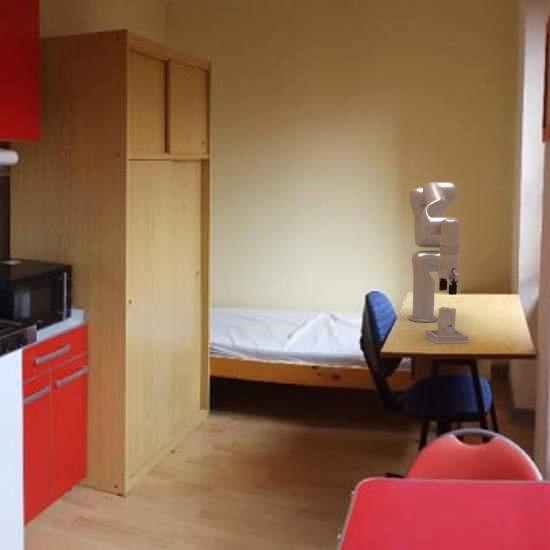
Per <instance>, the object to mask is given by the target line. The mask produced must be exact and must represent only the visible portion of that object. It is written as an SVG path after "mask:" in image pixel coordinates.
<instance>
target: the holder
mask: <svg viewBox="0 0 550 550" xmlns="http://www.w3.org/2000/svg"><path fill="white" fill-rule="evenodd" d="M424 332H425V333H424V337H425V336H426V337H425V338H427V339H429V340H430V341H432V342H434V343H435V344H457V343H459V344H461V343H463V344H464V343H469V335H467V334H465V333H463V331H462V332H461V331H460V330H457V329H455V331H454V336H437V334H438V329H429V330H428V329H426V330H425V331H424Z"/></svg>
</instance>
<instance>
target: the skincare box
mask: <svg viewBox="0 0 550 550" xmlns="http://www.w3.org/2000/svg"><path fill="white" fill-rule="evenodd" d="M456 310H457V308H454V307H448V306H447V307H445V306H441V307H439V308H438V317H437V330H438V334H437V336H454V331H455V328H456V327H455V326H456V313H457V311H456Z"/></svg>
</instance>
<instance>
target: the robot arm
mask: <svg viewBox="0 0 550 550" xmlns="http://www.w3.org/2000/svg"><path fill="white" fill-rule="evenodd" d="M457 196H458V189H457V186H456V184H455V183H453V182H452V181H430V182H427V183H425V184H424V185H423V186H419V187H417V186H416V187H415V188H412V189H411V190H410V192H409V203H410V208H411V211H412V214H413V218H414V223H413V224H414V225H413V227H414V244H415V246H416V247H418V248H424V249H425V248H427V249H428V248H431V249H432V248H433V249H434V248H435V249H436V248H437V249H439V250H418V251H416V252H414V253H413V254H412V256H411V264H412V265H411V266H412V275H413V276H412V277H413V278H412V279H413V283H412V285H413V286H412V288H413V289H412V314H411V315H409V316H408V320H409V321H411V322H417V323H434V322H438V317H437V316H435V315H434V314H435V313H434V312H435V289H436V288H435V287H436V283H435V279H434V278H433V276H432V275H431V274H430V273H432V272H433V273H434V272H435V273H436V272H437V275H438V277H439V279H438V280H439V284H438V285H439V287H438V290H439V291H440V292H441V291H447V290H448V295H451V296H453V295H455V296H456V295H457V292H458V282H459V257H458V255H459V254H460V239H461V237H460V236H461V235H460V234H461V222H460V220H459V219H457V217H454V216H441V215H442V214H444V213H445V212H446V211H447V210H448V208H449V205H450V204H452V203H454V202H455V201H456V199H457ZM448 283H449V284H448Z"/></svg>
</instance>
